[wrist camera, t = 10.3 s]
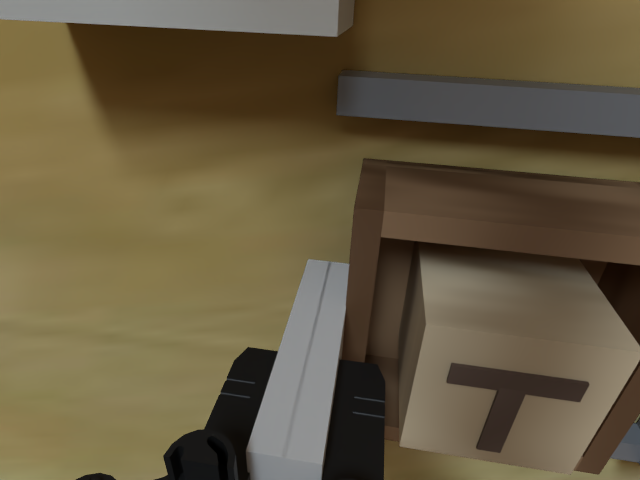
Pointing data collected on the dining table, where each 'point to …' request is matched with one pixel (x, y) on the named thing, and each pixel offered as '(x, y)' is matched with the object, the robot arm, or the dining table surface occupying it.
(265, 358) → the robot arm
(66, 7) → the grey tub
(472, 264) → the letter cube
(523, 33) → the dining table surface
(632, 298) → the walnut box
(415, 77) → the slate bay
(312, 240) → the dining table surface
